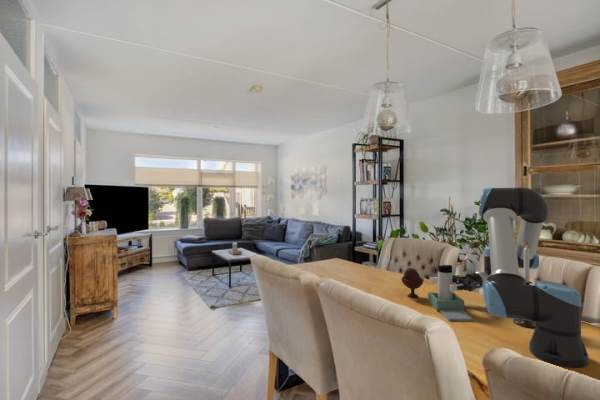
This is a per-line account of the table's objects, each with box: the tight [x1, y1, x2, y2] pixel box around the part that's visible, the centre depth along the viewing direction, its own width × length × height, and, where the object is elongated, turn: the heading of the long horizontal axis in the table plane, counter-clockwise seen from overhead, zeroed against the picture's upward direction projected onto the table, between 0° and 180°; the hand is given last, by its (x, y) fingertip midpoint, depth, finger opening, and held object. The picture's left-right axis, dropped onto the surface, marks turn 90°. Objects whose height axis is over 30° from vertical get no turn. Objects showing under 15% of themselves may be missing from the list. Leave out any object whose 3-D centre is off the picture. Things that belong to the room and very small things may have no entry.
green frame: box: [427, 291, 465, 312], centre depth 152 cm, size 12×12×5 cm
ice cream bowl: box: [401, 267, 425, 299], centre depth 168 cm, size 11×11×15 cm
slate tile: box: [439, 310, 474, 322], centre depth 140 cm, size 10×10×1 cm
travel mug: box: [437, 264, 454, 300], centre depth 152 cm, size 6×7×20 cm
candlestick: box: [512, 238, 536, 329], centre depth 131 cm, size 11×11×35 cm
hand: (439, 284), depth 151 cm, fingers open, 13 cm apart
